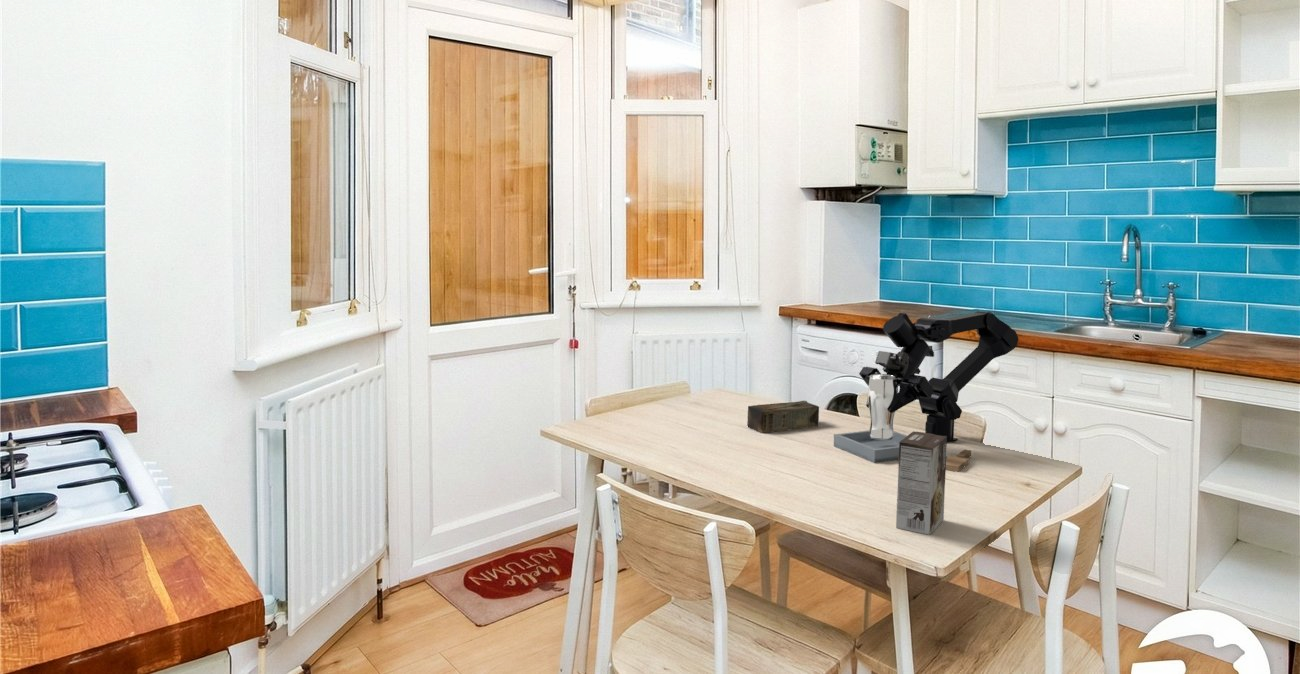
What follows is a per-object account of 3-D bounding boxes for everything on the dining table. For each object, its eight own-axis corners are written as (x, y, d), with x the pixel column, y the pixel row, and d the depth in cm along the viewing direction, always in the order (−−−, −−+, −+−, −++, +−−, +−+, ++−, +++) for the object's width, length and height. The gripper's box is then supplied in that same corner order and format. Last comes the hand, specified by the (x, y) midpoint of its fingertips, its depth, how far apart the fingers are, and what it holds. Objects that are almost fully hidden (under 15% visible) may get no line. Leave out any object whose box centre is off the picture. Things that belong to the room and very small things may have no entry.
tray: (885, 439, 204) (886, 428, 203) (929, 455, 189) (929, 443, 189) (833, 446, 198) (834, 434, 197) (874, 463, 183) (874, 450, 183)
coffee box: (909, 513, 150) (913, 430, 148) (944, 520, 146) (948, 435, 144) (894, 528, 143) (897, 440, 141) (930, 535, 139) (934, 446, 137)
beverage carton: (820, 427, 218) (820, 403, 217) (761, 434, 210) (761, 410, 209) (803, 421, 225) (803, 398, 224) (745, 428, 217) (745, 404, 216)
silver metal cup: (891, 442, 188) (893, 380, 186) (862, 438, 192) (864, 377, 190) (899, 435, 194) (902, 375, 192) (871, 431, 198) (873, 372, 196)
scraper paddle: (959, 455, 190) (959, 448, 189) (976, 457, 187) (976, 451, 187) (939, 468, 179) (940, 461, 178) (958, 471, 176) (958, 464, 176)
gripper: (864, 334, 200) (833, 383, 195) (927, 343, 184) (895, 395, 180) (884, 362, 205) (854, 409, 201) (947, 372, 190) (916, 424, 185)
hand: (878, 409), depth 191 cm, fingers closed on silver metal cup, 6 cm apart
